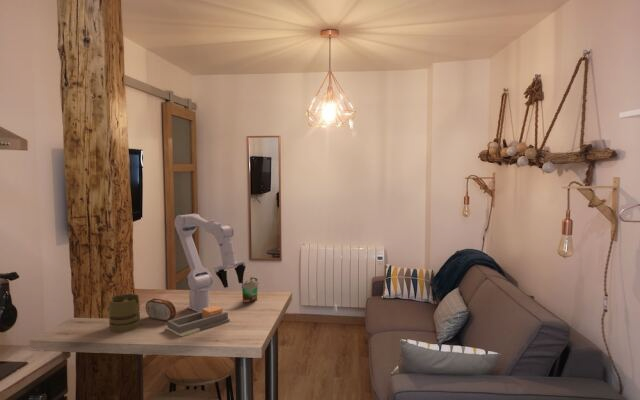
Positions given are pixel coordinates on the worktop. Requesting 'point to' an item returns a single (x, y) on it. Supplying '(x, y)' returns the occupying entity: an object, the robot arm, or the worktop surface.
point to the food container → (250, 290)
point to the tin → (160, 309)
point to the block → (211, 311)
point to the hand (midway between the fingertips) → (233, 285)
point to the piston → (124, 313)
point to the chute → (195, 323)
